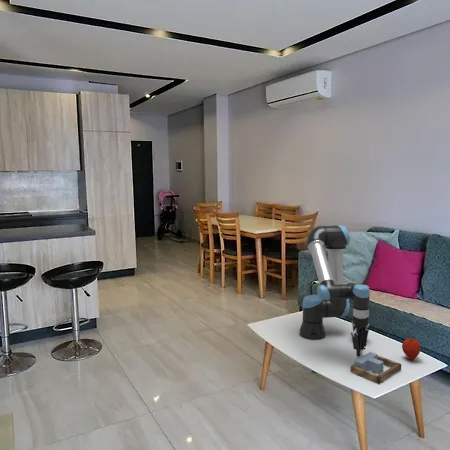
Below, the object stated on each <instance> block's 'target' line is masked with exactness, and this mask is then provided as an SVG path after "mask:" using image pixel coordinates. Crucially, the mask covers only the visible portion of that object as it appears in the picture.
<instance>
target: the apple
mask: <svg viewBox="0 0 450 450" xmlns="http://www.w3.org/2000/svg"><path fill="white" fill-rule="evenodd" d="M401 348H402V351H403V353H404V355H405V356H406V357H407V359H408V360H410V361H414V360H415V359H416V358H417V357H418V356H419V354H420V353H421V348H422V347H421V345H420V343H419V342H418V340H416V339H413V338H406V339H405V340H403V341H402V344H401Z"/></svg>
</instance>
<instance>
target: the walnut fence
mask: <svg viewBox="0 0 450 450" xmlns="http://www.w3.org/2000/svg"><path fill="white" fill-rule="evenodd" d="M377 359H378V360H380V361H383V362H384V364H383V366H386V367H389V368H388V369H387V370H385V371H383V372H382V373H380V374H376V373H374V372H373V373H372V372H371V371H369V370H363V369H361V368H358V367H356V366H354V364H351V365H350V373H352V374H354V375H357V376H358V377H362V378H364V379H366V380H369V381H371V382H374V383H375V384H378V385H381V384H383V383H384V382H385V381H387V380H388V379H390V378H391V377H392V376H394V375H396V374H397V373H398V372H400V371H401V370H402V363H401V362H400V363H399V362H397V361H394V360H392V359H390V358H389V359H388V358H387V357H383V356H381V355H379V354H378V355H377Z"/></svg>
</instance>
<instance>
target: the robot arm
mask: <svg viewBox="0 0 450 450" xmlns="http://www.w3.org/2000/svg"><path fill="white" fill-rule="evenodd" d="M350 242H351V239H350V233H349V230H348V228H347V227H346V226H345V225H338V224H337V225H319V226H316V227H314V228H313V229H312V230H310V232H309V233H308V235H307V238H306V245H307V250H308V251H310V254H311V257H312V261H313V265H314V268H315V272H316V276H317V279H318V282H319V283H318V284H319V285H317V288H316V293H317V294H308V295H306V296H305V297H304V298H303V300H302V304H301V305H302V306H301V307H302V323H301V325H300V328H299V335H300V337H302V338H304V339H307V340H315V341H317V340H322V339H325V337H326V336H327V335H326V333H327V332H326V330H325V326H324V323H323V320H324V319H326V318H328V319H329V318H339V319H340V318H344V317H347V316H348V315H349V313H350V309H351V308H350V307H351V304H350V300H352V321H353V324H354V325H355V327H354V332H353V331H352V332H350V334H351V335H350V336H351V339H352V346H353V349H354V350H356V352H355V355H356V356H355V357H356V359H358V358H360V357H361V356H363V355H364V350H366V347H367V342H368V335H369V330H370V326H369V327H367V325H368V324H369V325H370V321H369V319H370V318H369V316H370V296H371V292H370V287H369V286H368V285H366V284H359V283H358V284H357V283H355V282H352V281H347V282H346V283H344V251H345V250H346V249H347V246H349V245H350ZM326 251H327V253H328V254H326ZM356 359H355V360H356Z"/></svg>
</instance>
